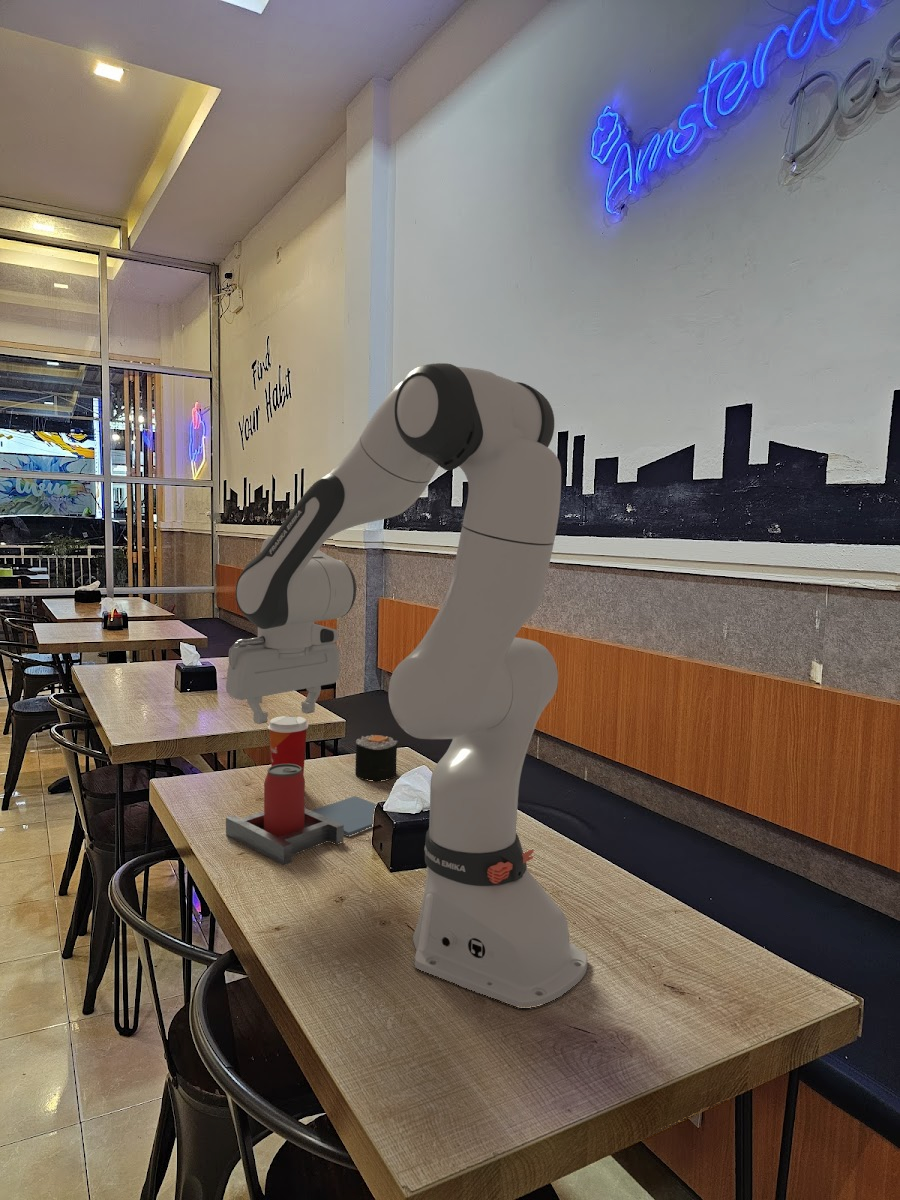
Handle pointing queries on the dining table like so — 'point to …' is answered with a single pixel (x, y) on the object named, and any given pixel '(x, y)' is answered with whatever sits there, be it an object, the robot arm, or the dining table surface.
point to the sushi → (376, 757)
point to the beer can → (284, 799)
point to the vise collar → (286, 845)
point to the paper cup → (288, 740)
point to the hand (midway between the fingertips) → (284, 717)
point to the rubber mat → (350, 814)
